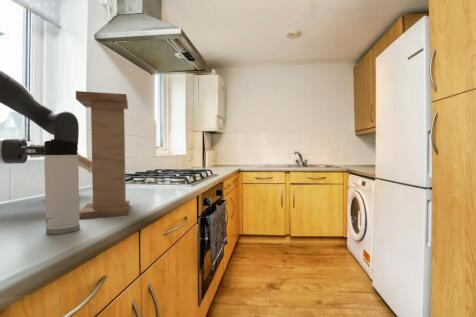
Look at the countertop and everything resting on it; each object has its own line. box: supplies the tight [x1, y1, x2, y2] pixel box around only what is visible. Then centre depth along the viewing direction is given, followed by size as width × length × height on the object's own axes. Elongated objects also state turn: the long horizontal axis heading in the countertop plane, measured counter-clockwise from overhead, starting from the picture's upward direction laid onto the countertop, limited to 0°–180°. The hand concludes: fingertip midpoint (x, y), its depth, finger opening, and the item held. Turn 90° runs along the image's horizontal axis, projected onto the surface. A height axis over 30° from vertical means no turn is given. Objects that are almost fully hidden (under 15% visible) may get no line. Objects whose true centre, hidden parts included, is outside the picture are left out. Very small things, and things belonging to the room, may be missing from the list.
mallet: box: [77, 153, 92, 174], centre depth 89 cm, size 7×19×6 cm, turn 110°
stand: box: [75, 90, 131, 220], centre depth 79 cm, size 14×12×33 cm
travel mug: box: [43, 138, 81, 236], centre depth 60 cm, size 6×7×20 cm
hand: (71, 151), depth 87 cm, fingers closed on mallet, 3 cm apart
